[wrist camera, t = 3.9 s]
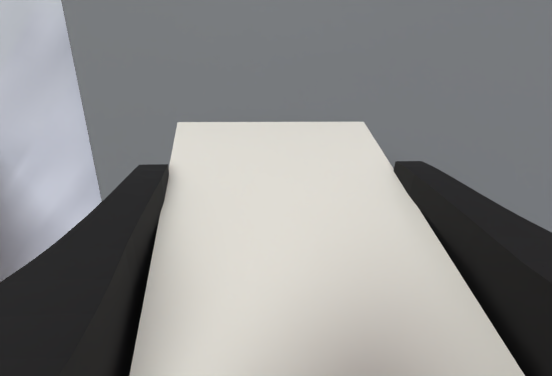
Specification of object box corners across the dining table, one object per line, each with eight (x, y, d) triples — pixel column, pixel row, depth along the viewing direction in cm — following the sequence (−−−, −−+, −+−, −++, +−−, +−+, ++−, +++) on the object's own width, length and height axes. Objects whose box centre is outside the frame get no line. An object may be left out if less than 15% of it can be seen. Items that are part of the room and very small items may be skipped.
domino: (177, 122, 12) (101, 525, 4) (363, 121, 12) (588, 475, 5) (181, 171, 13) (123, 582, 5) (355, 169, 13) (538, 535, 6)
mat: (660, -22, 16) (675, -19, 15) (442, 446, 32) (446, 455, 32) (59, -44, 13) (52, -41, 13) (159, 472, 30) (158, 482, 30)
